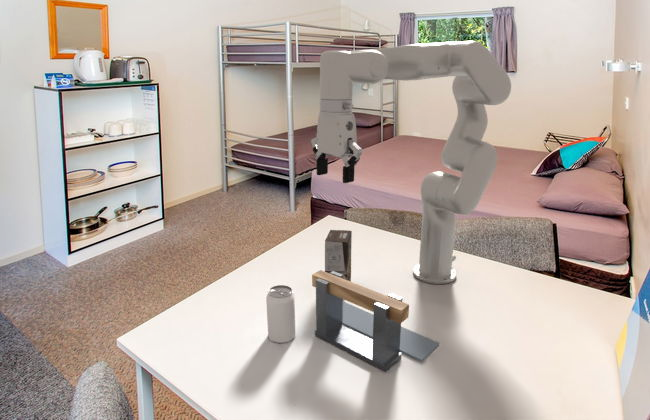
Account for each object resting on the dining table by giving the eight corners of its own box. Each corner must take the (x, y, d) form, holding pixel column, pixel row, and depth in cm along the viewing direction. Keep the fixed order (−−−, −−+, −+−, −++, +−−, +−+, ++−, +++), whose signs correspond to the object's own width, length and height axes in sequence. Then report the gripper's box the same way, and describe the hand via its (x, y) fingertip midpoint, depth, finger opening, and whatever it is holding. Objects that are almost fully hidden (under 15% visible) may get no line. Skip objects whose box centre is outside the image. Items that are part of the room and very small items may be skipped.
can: (280, 325, 111) (278, 281, 107) (301, 333, 108) (299, 289, 104) (262, 338, 106) (259, 292, 102) (283, 347, 103) (282, 301, 99)
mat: (344, 303, 121) (344, 301, 120) (439, 345, 103) (439, 343, 103) (324, 316, 115) (324, 314, 115) (421, 362, 97) (422, 359, 97)
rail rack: (331, 325, 111) (331, 270, 106) (401, 359, 98) (404, 298, 94) (314, 336, 107) (314, 279, 102) (385, 372, 94) (388, 310, 89)
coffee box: (347, 296, 124) (347, 242, 119) (324, 294, 126) (323, 240, 120) (351, 281, 133) (352, 230, 128) (330, 279, 134) (330, 228, 129)
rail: (320, 281, 107) (320, 270, 106) (408, 317, 92) (409, 304, 91) (312, 286, 105) (312, 274, 104) (400, 323, 90) (401, 310, 89)
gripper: (373, 109, 101) (370, 182, 107) (324, 103, 114) (324, 169, 119) (349, 111, 97) (347, 188, 102) (300, 104, 109) (301, 173, 114)
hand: (334, 178), depth 111 cm, fingers open, 9 cm apart
